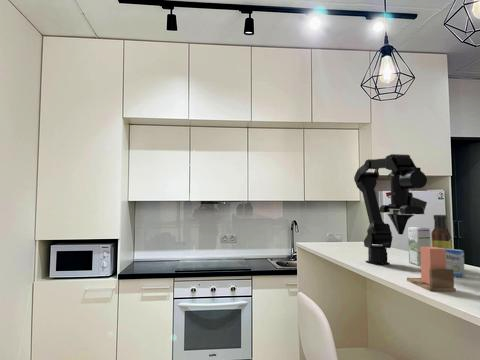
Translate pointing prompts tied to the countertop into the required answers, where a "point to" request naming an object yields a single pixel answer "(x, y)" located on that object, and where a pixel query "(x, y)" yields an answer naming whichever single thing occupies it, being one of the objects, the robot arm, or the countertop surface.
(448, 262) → the medicine box
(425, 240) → the syrup box
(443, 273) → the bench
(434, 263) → the pink tall block
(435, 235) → the sauce bottle
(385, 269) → the countertop surface
